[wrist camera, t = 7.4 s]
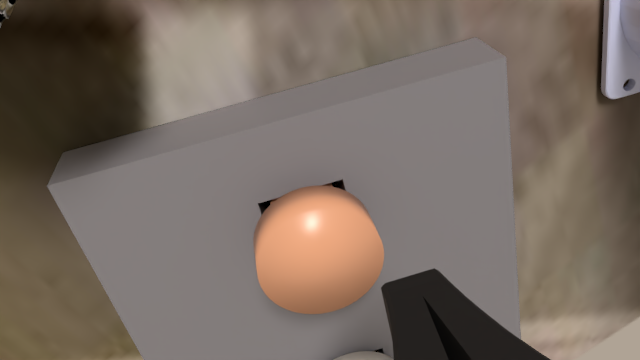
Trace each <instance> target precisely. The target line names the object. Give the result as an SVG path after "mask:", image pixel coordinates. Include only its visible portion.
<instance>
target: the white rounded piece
mask: <svg viewBox="0 0 640 360" xmlns="http://www.w3.org/2000/svg"><path fill="white" fill-rule="evenodd" d="M334 360H394V359H393V358H391V357H390V356H388V355H385V354H383V353H379V352H374V351H359V352H353V353H349V354H345V355H343V356H340V357H338V358H336V359H334Z"/></svg>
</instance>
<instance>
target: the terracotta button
mask: <svg viewBox="0 0 640 360" xmlns="http://www.w3.org/2000/svg"><path fill="white" fill-rule="evenodd" d="M253 245H254V253H255V261H256V269H257V276H258V280H259V283H260V286H261V288H262V290H263V291H264V293H265V294H266V295H267V296H268V297H269V298H270V300H272V301H273V302H274V303H275V304H277V305H279V306H280V307H282V308H284V309H287V310H289V311H293V312H296V313H302V314H322V313H328V312H332V311H336V310H339V309H341V308H344V307H346V306H348V305H350V304H352V303H353V302H355V301H357V300H358V299H359V298H361V297H362V296H363V295H364V294H366V293H367V292H368V291H369V290H370V288H371V287H372V286H373V285H374V283H375V282H376V280H377V279H378V277H379V275H380V273H381V270H382V267H383V262H384V248H383V244H382V240H381V238H380V236H379V234H378V232H377V230H376V227H375V225H374V223H373V221H372V219H371V217H370V215H369V213H368V210H367V209H366V207H365V206H364V204H363V203H362V202H361V201H360V200H359V199H358V198H356V197H355V196H354V195H352V194H351V193H349V192H347V191H345V190H342V189H340V188H336V187H333V186H332V183H328V184H324V185H321V186H308V187H303V188H299V189H296V190H293V191H291V192H289V193H287V194H285V195H283V196H281V197H279V198H276V199H272V200H270V206H269V207H268V208H267V209H266V210H265V211H264V213H263V214H262V215H261V217H260V219H259V221H258V222H257V225H256V228H255V232H254V238H253Z"/></svg>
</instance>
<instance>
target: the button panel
mask: <svg viewBox="0 0 640 360" xmlns="http://www.w3.org/2000/svg"><path fill="white" fill-rule="evenodd" d="M335 181H338V185H339V188H340V189H342V190H345V191H347V192H349V193H351V194H352V195H354V196H355V197H356V198H358V199H359V200H360V201H361V202H362V203H363V204H364V206H365V207H366V209H367V210H368V213H369V215H370V217H371V219H372V221H373V223H374V225H375V227H376V230H377V232H378V234H379V236H380V238H381V240H382V244H383V248H384V262H383V267H382V270H381V273H380V275H379V277H378V279H377V280H376V282H375V283H374V285H373V286H372V287H371V288H370V290H369V291H368V292H367V293H366V294H364V295H363V296H362V297H361V298H359V299H358V300H357V301H355V302H353V303H352V304H350V305H348V306H346V307H344V308H341V309H339V310H336V311H332V312H328V313H322V314H302V313H296V312H293V311H289V310H287V309H284V308H282V307H280V306H279V305H277V304H275V303H274V302H273V301H272V300H270V298H269V297H268V296H267V295H266V294H265V293H264V291H263V290H262V288H261V286H260V283H259V280H258V276H257V269H256V261H255V253H254V245H253V238H254V232H255V228H256V225H257V222H258V221H259V219H260V217H261V215H262V214H263V213H264V211H265V207H264V204H263V202H265V201H269V200H272V199H276V198H279V197H281V196H283V195H285V194H287V193H289V192H291V191H293V190H296V189H299V188H303V187H308V186H321V185H324V184H328V183H331V182H335ZM47 187H48V189H49V191H50V193H51V194H52V196H53V198H54V200H55V201H56V203H57V205H58V207H59V209H60V210H61V212H62V214H63V216H64V218H65V219H66V221H67V223H68V225H69V227H70V228H71V230H72V232H73V234H74V236H75V237H76V239H77V241H78V243H79V245H80V246H81V248H82V250H83V252H84V253H85V255H86V257H87V259H88V261H89V262H90V264H91V266H92V268H93V270H94V271H95V273H96V275H97V277H98V279H99V280H100V282H101V284H102V286H103V288H104V289H105V291H106V293H107V295H108V297H109V298H110V300H111V302H112V304H113V305H114V307H115V309H116V311H117V313H118V314H119V316H120V318H121V320H122V322H123V323H124V325H125V327H126V329H127V331H128V332H129V334H130V336H131V338H132V340H133V341H134V343H135V345H136V347H137V349H138V350H139V352H140V354H141V356H142V358H143V359H144V360H334V359H336V358H338V357H340V356H343V355H345V354H349V353H353V352H359V351H374V350H378V351H379V353H383V354H385V355H388V356H390V357H391V358H393V359H394V356H393V342H392V336H391V332H390V327H389V323H388V318H387V314H386V309H385V305H384V300H383V296H382V291H381V287H382V286H383V285H384V284H385V283H387V282H390V281H394V280H397V279H400V278H404V277H407V276H410V275H414V274H417V273H420V272H424V271H427V270H430V269H436V270H438V271H440V272H441V273H442V274H443V275H444V276H445V277H446V278H447V279H448V280H449V281H450V282H451V283H452V284H453V285H454V286H455V287H456V288H457V289H458V290H459V291H461V292H462V293H463V294H464V295H465V296H466V297H467V298H468V299H470V300H471V301H472V302H473V303H474V304H475V305H477V306H478V307H479V308H480V309H481V310H483V311H484V312H485V313H486V314H488V315H489V316H490V317H491V318H493V319H494V320H495V321H496V322H498V323H499V324H500V325H502V326H503V327H504V328H505V329H507V330H508V331H509V332H511V333H512V334H514V335H515V336H516V337H518V338H519V339H521V332H520V313H519V294H518V275H517V256H516V237H515V218H514V199H513V180H512V161H511V142H510V123H509V104H508V85H507V66H506V57H505V56H504V55H502V54H501V53H499V52H498V51H496V50H495V49H493V48H492V47H490V46H489V45H487V44H486V43H484V42H483V41H481V40H479V39H478V38H476V37H475V38H472V39H468V40H465V41H461V42H458V43H454V44H450V45H447V46H443V47H440V48H436V49H432V50H429V51H425V52H422V53H418V54H414V55H411V56H407V57H404V58H400V59H397V60H393V61H389V62H386V63H382V64H379V65H375V66H371V67H368V68H364V69H361V70H357V71H353V72H350V73H346V74H343V75H339V76H336V77H332V78H328V79H325V80H321V81H318V82H314V83H310V84H307V85H303V86H300V87H296V88H292V89H289V90H285V91H282V92H278V93H275V94H271V95H267V96H264V97H260V98H257V99H253V100H249V101H246V102H242V103H239V104H235V105H231V106H228V107H224V108H221V109H217V110H214V111H210V112H206V113H203V114H199V115H196V116H192V117H188V118H185V119H181V120H178V121H174V122H170V123H167V124H163V125H160V126H156V127H153V128H149V129H145V130H142V131H138V132H135V133H131V134H127V135H124V136H120V137H117V138H113V139H109V140H106V141H102V142H99V143H95V144H92V145H88V146H84V147H81V148H77V149H74V150H70V151H66V152H63V153H62V155H61V157H60V159H59V162H58V164H57V166H56V168H55V170H54V172H53V174H52V176H51V178H50V181H49V183H48V185H47Z"/></svg>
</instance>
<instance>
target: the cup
mask: <svg viewBox="0 0 640 360" xmlns="http://www.w3.org/2000/svg"><path fill="white" fill-rule="evenodd" d="M16 2H17V0H0V27H1V24H2V23H3V21H4V20H5V19H6V18H7V19H9V17H10V15H11V13H12V11H13V9H14V6H15V4H16Z"/></svg>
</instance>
